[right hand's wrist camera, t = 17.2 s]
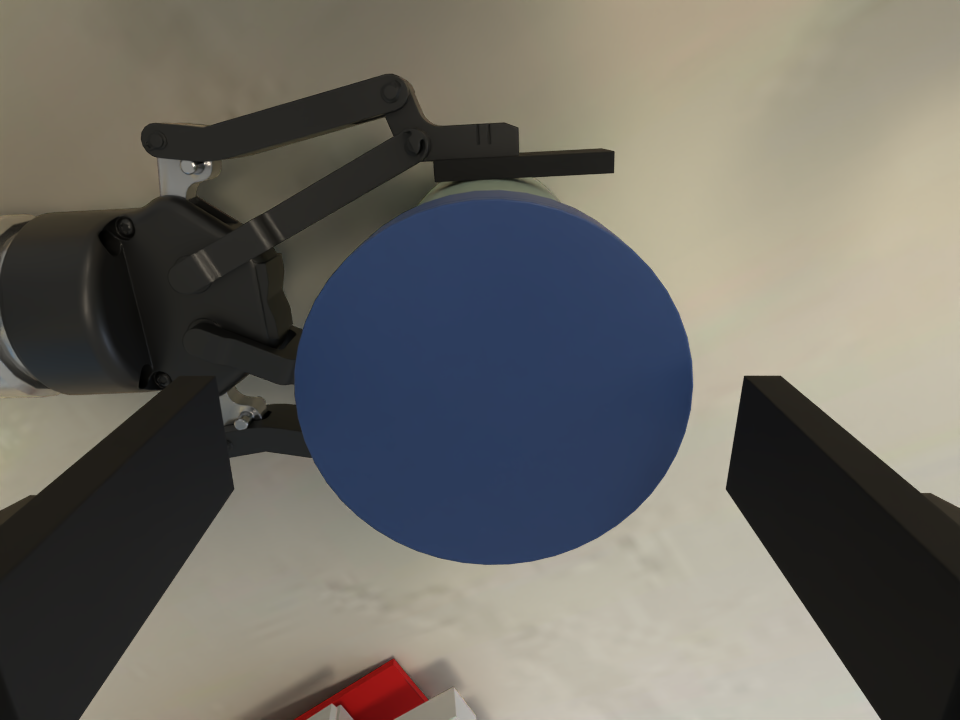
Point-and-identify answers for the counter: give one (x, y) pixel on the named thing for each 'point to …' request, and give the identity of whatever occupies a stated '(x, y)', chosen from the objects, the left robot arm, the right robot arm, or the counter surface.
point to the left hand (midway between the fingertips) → (604, 280)
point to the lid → (493, 379)
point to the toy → (389, 700)
